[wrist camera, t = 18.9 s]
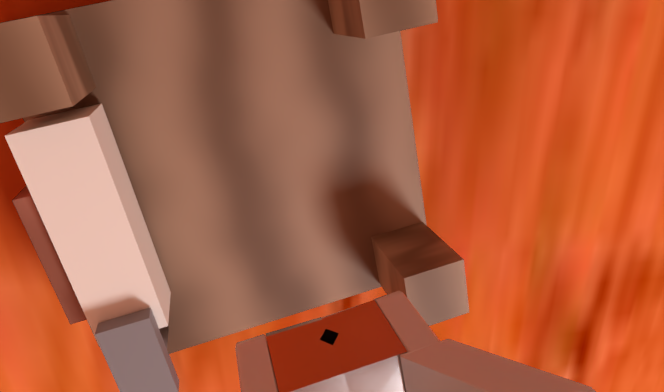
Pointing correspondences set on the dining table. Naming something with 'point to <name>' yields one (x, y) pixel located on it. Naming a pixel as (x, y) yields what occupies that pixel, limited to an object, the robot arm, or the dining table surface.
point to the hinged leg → (100, 240)
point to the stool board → (247, 150)
